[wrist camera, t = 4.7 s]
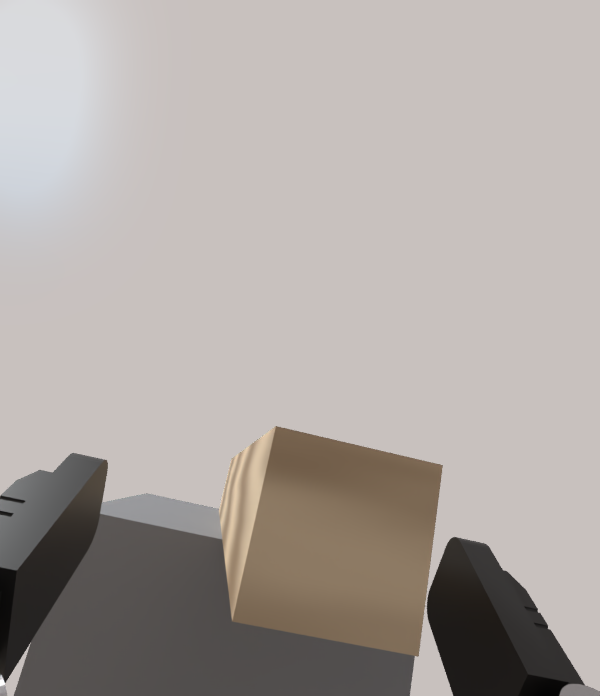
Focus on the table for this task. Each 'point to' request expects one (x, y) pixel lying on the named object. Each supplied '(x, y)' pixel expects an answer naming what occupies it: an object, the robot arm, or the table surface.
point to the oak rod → (329, 539)
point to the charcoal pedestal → (181, 622)
